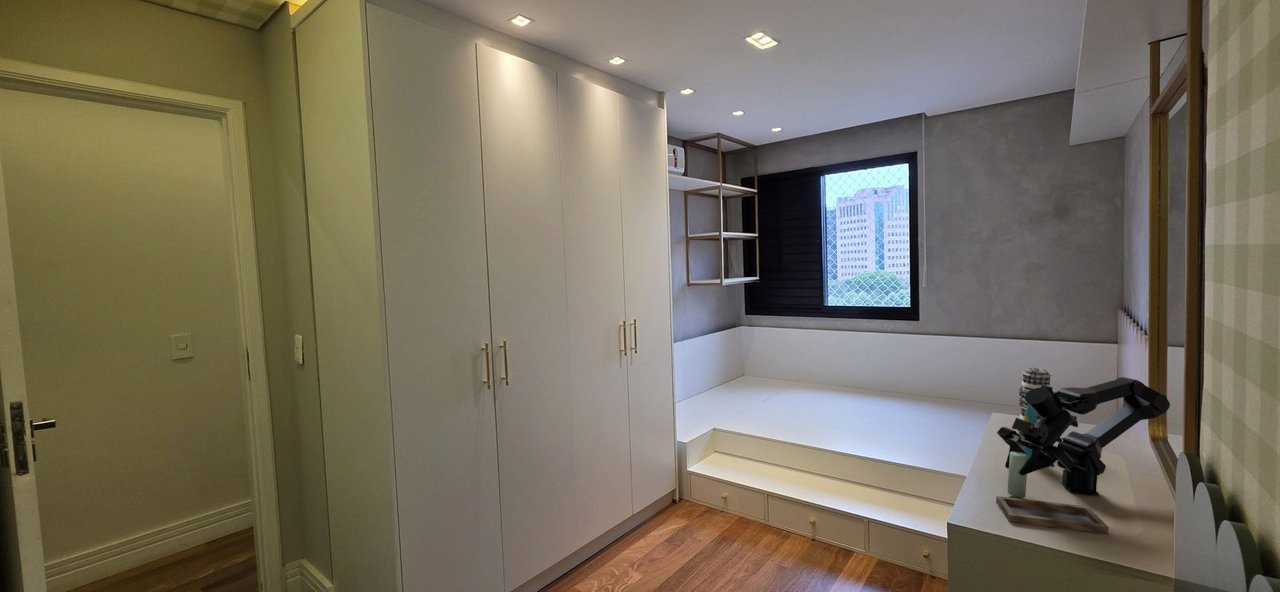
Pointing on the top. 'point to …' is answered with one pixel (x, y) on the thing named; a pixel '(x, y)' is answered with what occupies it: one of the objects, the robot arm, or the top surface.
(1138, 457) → the top surface
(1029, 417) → the tube
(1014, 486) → the post
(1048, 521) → the brown wooden flat tray
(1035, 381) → the decorative candle
